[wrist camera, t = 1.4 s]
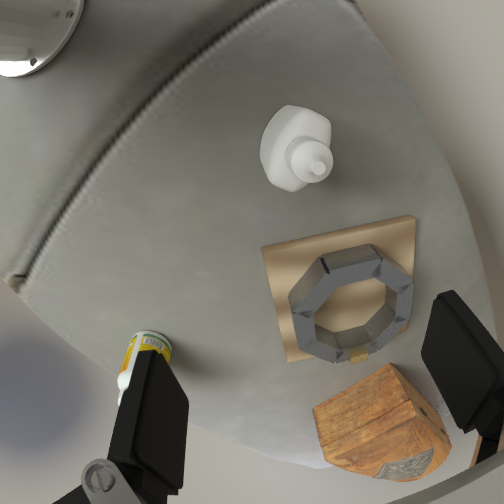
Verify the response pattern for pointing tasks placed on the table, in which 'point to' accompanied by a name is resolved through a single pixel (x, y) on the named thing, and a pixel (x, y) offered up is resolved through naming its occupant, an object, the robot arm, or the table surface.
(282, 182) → the eye dropper bottle
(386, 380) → the wooden box
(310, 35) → the table surface
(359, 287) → the square wooden board
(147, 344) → the supplement bottle
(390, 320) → the gray octagonal ring
